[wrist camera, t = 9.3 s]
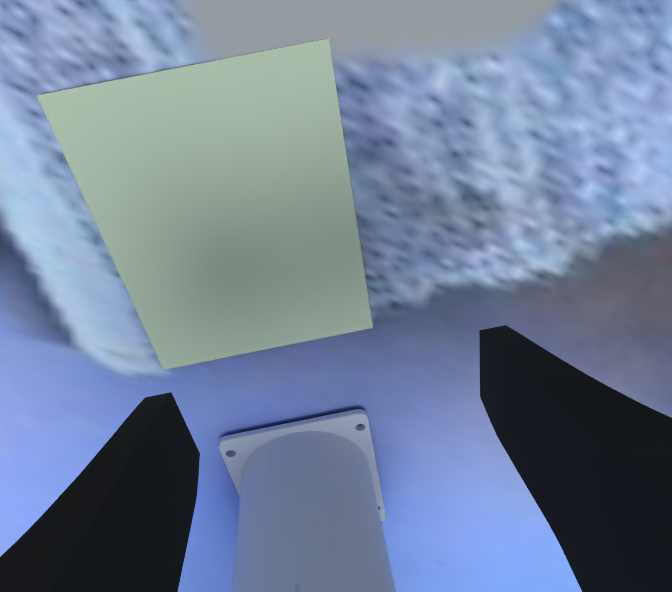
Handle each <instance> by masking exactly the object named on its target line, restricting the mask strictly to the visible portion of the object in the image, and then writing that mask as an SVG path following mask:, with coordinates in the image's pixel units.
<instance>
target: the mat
mask: <svg viewBox="0 0 672 592" xmlns="http://www.w3.org/2000/svg"><path fill="white" fill-rule="evenodd" d="M37 97H38V99H39V101H40V104H41V106H42V108H43V110H44V112H45V114H46V117H47V119H48V121H49V123H50V125H51V127H52V130H53V132H54V134H55V136H56V138H57V140H58V143H59V145H60V147H61V149H62V151H63V153H64V156H65V158H66V160H67V162H68V164H69V166H70V169H71V171H72V173H73V175H74V177H75V179H76V182H77V184H78V186H79V188H80V190H81V192H82V194H83V197H84V199H85V201H86V203H87V205H88V207H89V210H90V212H91V214H92V216H93V218H94V220H95V223H96V225H97V227H98V229H99V231H100V233H101V236H102V238H103V240H104V242H105V244H106V246H107V249H108V251H109V253H110V255H111V257H112V259H113V262H114V264H115V266H116V268H117V270H118V272H119V275H120V277H121V279H122V281H123V283H124V285H125V288H126V290H127V292H128V294H129V296H130V298H131V301H132V303H133V305H134V307H135V309H136V311H137V314H138V316H139V318H140V320H141V322H142V324H143V327H144V329H145V331H146V333H147V335H148V337H149V340H150V342H151V344H152V346H153V348H154V350H155V353H156V355H157V357H158V359H159V361H160V363H161V366H162V368H163V370H166V369H171V368H176V367H181V366H186V365H191V364H196V363H201V362H206V361H210V360H215V359H220V358H225V357H230V356H235V355H240V354H245V353H250V352H255V351H260V350H265V349H270V348H275V347H280V346H285V345H290V344H295V343H300V342H305V341H310V340H315V339H320V338H325V337H330V336H335V335H340V334H345V333H350V332H355V331H360V330H365V329H370V328H373V324H372V318H371V311H370V305H369V298H368V292H367V285H366V279H365V272H364V265H363V259H362V252H361V246H360V239H359V233H358V226H357V220H356V213H355V207H354V200H353V194H352V187H351V181H350V174H349V168H348V161H347V155H346V148H345V142H344V135H343V129H342V122H341V116H340V109H339V103H338V96H337V90H336V83H335V77H334V70H333V64H332V57H331V51H330V44H329V39H328V38H327V39H322V40H317V41H312V42H307V43H302V44H297V45H292V46H286V47H281V48H276V49H271V50H266V51H261V52H256V53H250V54H245V55H240V56H235V57H230V58H225V59H220V60H215V61H210V62H204V63H199V64H194V65H189V66H184V67H179V68H174V69H169V70H163V71H158V72H153V73H148V74H143V75H138V76H133V77H128V78H122V79H117V80H112V81H107V82H102V83H97V84H92V85H87V86H82V87H76V88H71V89H66V90H61V91H56V92H51V93H46V94H41V95H37Z"/></svg>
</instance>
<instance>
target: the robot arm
mask: <svg viewBox="0 0 672 592" xmlns="http://www.w3.org/2000/svg"><path fill="white" fill-rule="evenodd" d="M480 397H481V400H482V402H483V404H484V407H485V409H486V412H487V414H488V416H489V419H490V421H491V423H492V425H493V428H494V430H495V432H496V434H497V436H498V438H499V440H500V442H501V443H502V445H503V447H504V449H505V450H506V452H507V454H508V455H509V457H510V459H511V461H512V462H513V464H514V466H515V467H516V469H517V471H518V472H519V474H520V476H521V478H522V479H523V481H524V483H525V484H526V486H527V488H528V489H529V491H530V493H531V494H532V496H533V498H534V499H535V501H536V503H537V505H538V506H539V508H540V510H541V511H542V513H543V515H544V516H545V518H546V520H547V521H548V523H549V525H550V527H551V529H552V531H553V532H554V534H555V536H556V538H557V540H558V542H559V544H560V545H561V548H562V550H563V552H564V554H565V556H566V558H567V560H568V562H569V564H570V567H571V569H572V571H573V573H574V575H575V577H576V579H577V581H578V583H579V586H580V588H581V590H582V592H672V418H671V417H669V416H666V415H664V414H662V413H660V412H657V411H655V410H653V409H651V408H649V407H647V406H645V405H643V404H641V403H639V402H637V401H635V400H633V399H631V398H629V397H627V396H625V395H623V394H622V393H620V392H618V391H616V390H614V389H612V388H610V387H608V386H606V385H604V384H603V383H601V382H599V381H597V380H595V379H594V378H592V377H590V376H588V375H587V374H585V373H583V372H581V371H580V370H578V369H576V368H575V367H573V366H571V365H570V364H568V363H566V362H565V361H563V360H561V359H560V358H558V357H556V356H555V355H553V354H551V353H550V352H548V351H547V350H545V349H543V348H542V347H540V346H538V345H537V344H535V343H534V342H532V341H531V340H529V339H527V338H526V337H524V336H523V335H521V334H519V333H518V332H516V331H514V330H513V329H511V328H509V327H508V326H506V325H505V326H500V327H495V328H490V329H485V330H480ZM358 424H362V425H360V426H357V425H358ZM218 446H219V450H220V452H221V455H222V457H223V459H224V462H225V464H226V466H227V469H228V471H229V473H230V476H231V478H232V480H233V483H234V485H235V487H236V490H237V492H238V494H239V496H240V504H239V515H238V527H237V538H236V549H235V561H234V572H233V583H232V592H396V591H395V586H394V581H393V577H392V572H391V567H390V562H389V557H388V552H387V548H386V543H385V538H384V533H383V528H382V523H381V522H383V521H384V520H385V519H386V514H385V508H384V503H383V497H382V492H381V487H380V481H379V476H378V470H377V465H376V459H375V454H374V448H373V443H372V437H371V432H370V426H369V421H368V416H367V413H366V411H364V410H362V409H355V410H350V411H345V412H341V413H336V414H331V415H326V416H321V417H316V418H311V419H306V420H301V421H296V422H291V423H286V424H281V425H276V426H271V427H266V428H261V429H256V430H251V431H246V432H241V433H236V434H231V435H226V436H224V437H222V438H221V439H220V440H219V445H218ZM229 450H233V451H229ZM199 456H200V453H199V451H198V449H197V447H196V444H195V442H194V440H193V438H192V436H191V434H190V432H189V429H188V427H187V425H186V423H185V421H184V419H183V417H182V414H181V412H180V410H179V408H178V406H177V404H176V401H175V399H174V397H173V395H172V393H166V394H161V395H156V396H151V397H146V398H144V399H143V401H142V402H141V403H140V404H139V405H138V406H137V407H136V408H135V410H134V411H133V412H132V413H131V414H130V415H129V417H128V418H127V419H126V420H125V421H124V423H123V424H122V425H121V426H120V427H119V429H118V430H117V431H116V432H115V433H114V435H113V436H112V437H111V438H110V439H109V441H108V442H107V443H106V444H105V445H104V446H103V448H102V449H101V450H100V451H99V452H98V454H97V455H96V456H95V457H94V458H93V459H92V461H91V462H90V463H89V464H88V465H87V466H86V468H85V469H84V470H83V471H82V472H81V473H80V475H79V476H78V477H77V478H76V479H75V480H74V481H73V482H72V483H71V484H70V486H69V487H68V488H67V489H66V490H65V491H64V492H63V493H62V494H61V495H60V496H59V498H58V499H57V500H56V501H55V502H54V503H53V504H52V505H51V506H50V507H49V509H48V510H47V511H46V512H45V513H44V514H43V515H42V516H41V517H40V518H39V519H38V520H37V521H36V522H35V523H34V524H33V525H32V527H31V528H30V529H29V530H28V531H27V532H26V533H25V534H24V535H23V536H22V537H21V538H20V539H19V540H18V541H17V542H16V543H15V544H13V545H12V546H11V547H10V548H9V549H8V550H7V551H6V552H5V553H4V554H3V555H2V556H1V557H0V592H177V591H178V586H179V581H180V577H181V572H182V567H183V562H184V557H185V552H186V547H187V543H188V538H189V533H190V528H191V523H192V518H193V513H194V508H195V502H196V497H197V486H198V474H199Z"/></svg>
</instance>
